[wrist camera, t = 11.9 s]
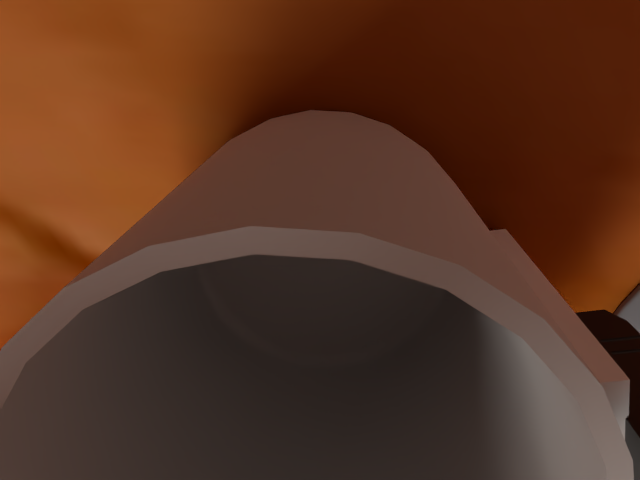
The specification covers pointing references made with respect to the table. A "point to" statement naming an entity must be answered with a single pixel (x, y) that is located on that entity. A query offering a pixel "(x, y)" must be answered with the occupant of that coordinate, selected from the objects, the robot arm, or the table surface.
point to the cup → (304, 333)
